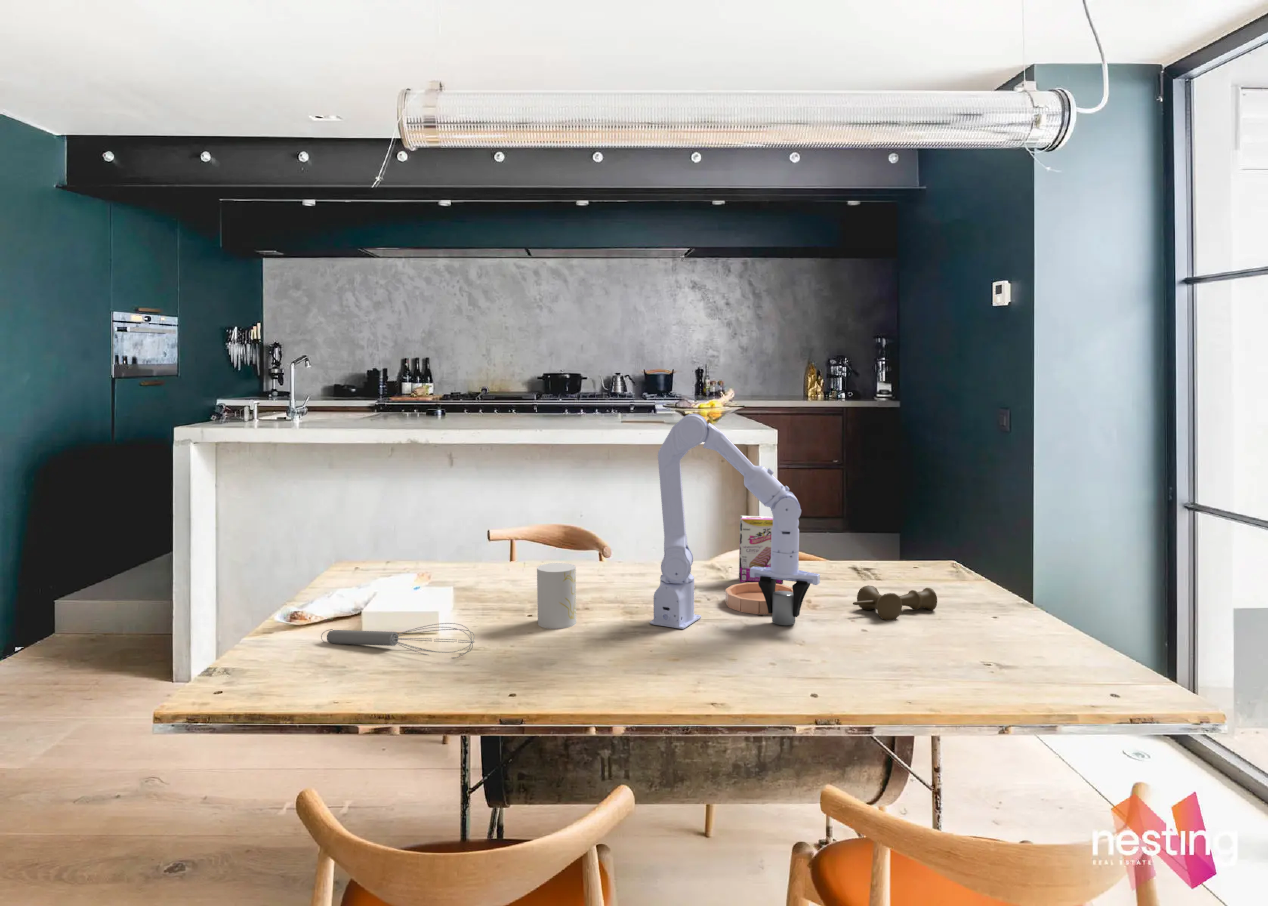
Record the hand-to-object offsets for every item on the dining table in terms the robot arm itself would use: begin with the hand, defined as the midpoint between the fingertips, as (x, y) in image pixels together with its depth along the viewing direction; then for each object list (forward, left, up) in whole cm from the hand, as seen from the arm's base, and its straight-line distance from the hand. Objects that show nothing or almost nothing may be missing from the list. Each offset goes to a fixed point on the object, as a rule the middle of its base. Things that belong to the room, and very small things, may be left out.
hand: (783, 614), depth 174 cm
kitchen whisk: (-50, +61, -3) cm, 79 cm away
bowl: (+12, +9, -2) cm, 15 cm away
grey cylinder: (0, 0, -2) cm, 2 cm away
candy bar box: (+32, +16, -2) cm, 36 cm away
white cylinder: (-21, +43, -2) cm, 48 cm away
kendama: (+19, -19, -3) cm, 27 cm away
